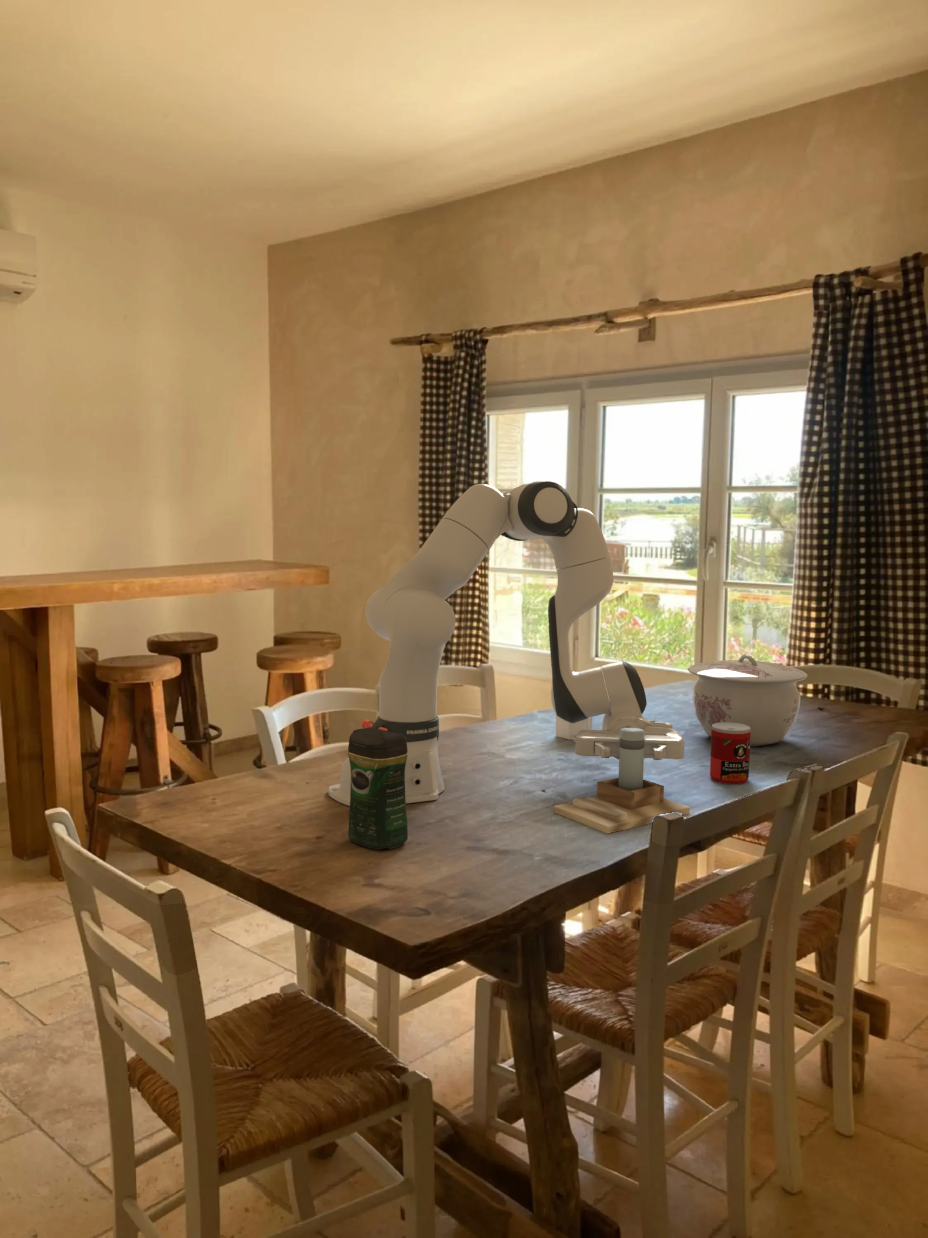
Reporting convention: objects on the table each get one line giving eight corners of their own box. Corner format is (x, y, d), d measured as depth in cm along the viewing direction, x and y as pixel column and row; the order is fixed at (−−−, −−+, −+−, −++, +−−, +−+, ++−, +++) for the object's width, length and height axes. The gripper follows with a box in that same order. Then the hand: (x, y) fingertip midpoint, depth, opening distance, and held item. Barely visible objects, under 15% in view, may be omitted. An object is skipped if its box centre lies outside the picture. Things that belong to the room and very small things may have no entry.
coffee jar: (416, 843, 157) (416, 730, 155) (378, 855, 151) (378, 738, 149) (377, 829, 164) (377, 721, 161) (340, 840, 158) (339, 728, 156)
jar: (599, 737, 232) (600, 688, 231) (575, 742, 227) (576, 691, 226) (572, 730, 239) (573, 682, 238) (548, 735, 234) (549, 686, 233)
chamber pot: (781, 760, 212) (785, 667, 210) (665, 741, 228) (668, 655, 226) (821, 737, 234) (825, 653, 232) (713, 722, 251) (716, 642, 248)
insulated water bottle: (630, 805, 174) (632, 734, 173) (612, 799, 178) (614, 729, 177) (647, 801, 177) (650, 731, 175) (630, 795, 181) (632, 726, 179)
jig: (608, 834, 162) (608, 809, 162) (553, 812, 174) (554, 789, 173) (689, 813, 174) (690, 790, 173) (633, 794, 185) (634, 773, 185)
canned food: (722, 786, 192) (724, 731, 190) (702, 775, 199) (704, 723, 198) (756, 783, 194) (758, 729, 192) (735, 773, 201) (737, 721, 200)
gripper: (573, 719, 190) (574, 735, 176) (679, 723, 188) (688, 739, 174) (572, 751, 191) (573, 769, 177) (678, 755, 189) (687, 774, 175)
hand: (631, 754), depth 176 cm, fingers open, 8 cm apart
